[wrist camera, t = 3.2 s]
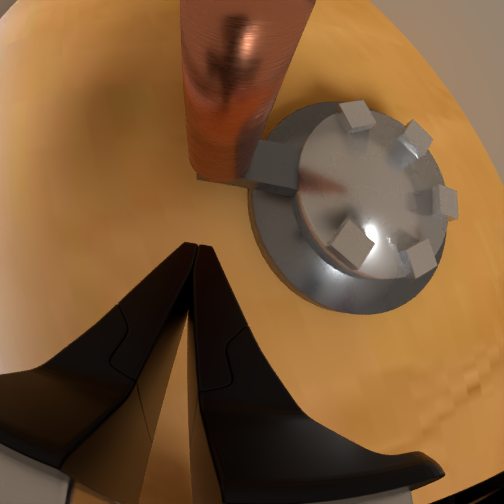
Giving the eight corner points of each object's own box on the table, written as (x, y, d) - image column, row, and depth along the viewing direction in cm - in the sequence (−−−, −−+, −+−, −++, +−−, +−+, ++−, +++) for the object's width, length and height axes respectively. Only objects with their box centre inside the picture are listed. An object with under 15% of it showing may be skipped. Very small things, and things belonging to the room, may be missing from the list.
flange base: (335, 357, 19) (349, 363, 17) (147, 103, 19) (143, 86, 17) (454, 234, 21) (471, 229, 19) (298, 36, 22) (304, 20, 20)
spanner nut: (427, 150, 19) (543, 73, 8) (427, 289, 18) (587, 275, 6) (208, 90, 17) (224, -79, 6) (172, 249, 16) (100, 150, 4)
